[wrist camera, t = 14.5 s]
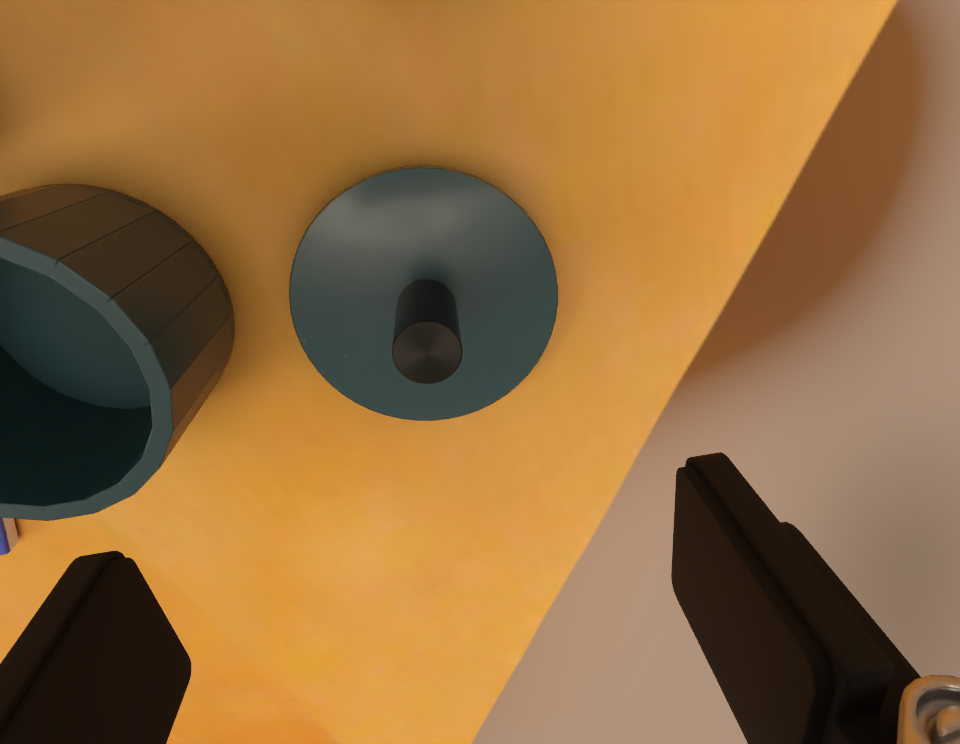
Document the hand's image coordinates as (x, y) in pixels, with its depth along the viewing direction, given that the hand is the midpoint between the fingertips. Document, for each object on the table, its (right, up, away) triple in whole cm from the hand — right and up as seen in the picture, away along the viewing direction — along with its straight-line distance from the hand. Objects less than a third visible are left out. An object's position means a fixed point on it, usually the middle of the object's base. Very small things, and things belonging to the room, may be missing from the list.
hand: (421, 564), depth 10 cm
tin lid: (-2, +7, +20) cm, 21 cm away
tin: (-18, +6, +19) cm, 27 cm away
